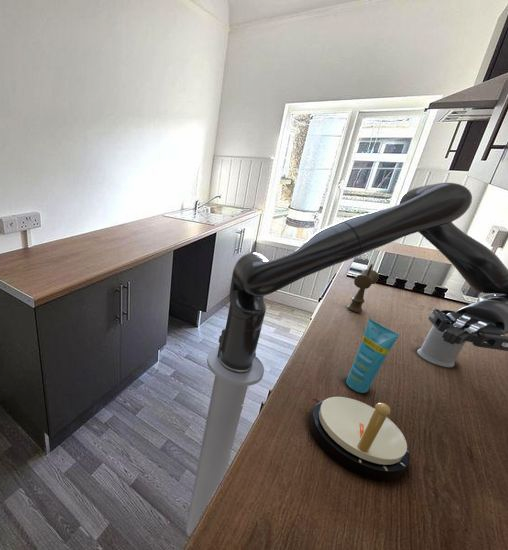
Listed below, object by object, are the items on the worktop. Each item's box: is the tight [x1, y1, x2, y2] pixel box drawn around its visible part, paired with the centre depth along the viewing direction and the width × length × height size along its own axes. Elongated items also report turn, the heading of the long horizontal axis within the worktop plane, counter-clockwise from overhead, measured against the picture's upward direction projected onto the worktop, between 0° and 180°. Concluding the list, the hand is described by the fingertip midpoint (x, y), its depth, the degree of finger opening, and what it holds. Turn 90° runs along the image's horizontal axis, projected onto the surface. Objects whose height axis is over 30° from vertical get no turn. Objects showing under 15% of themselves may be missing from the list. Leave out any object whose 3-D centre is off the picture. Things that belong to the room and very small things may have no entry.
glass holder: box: [416, 309, 466, 368], centre depth 90 cm, size 9×14×15 cm, turn 110°
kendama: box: [347, 263, 380, 313], centre depth 115 cm, size 6×10×20 cm, turn 130°
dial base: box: [309, 400, 411, 483], centre depth 63 cm, size 17×17×3 cm
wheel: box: [319, 396, 408, 465], centre depth 60 cm, size 15×15×13 cm
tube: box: [345, 317, 400, 394], centre depth 75 cm, size 7×5×19 cm, turn 19°
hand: (450, 338), depth 55 cm, fingers closed
